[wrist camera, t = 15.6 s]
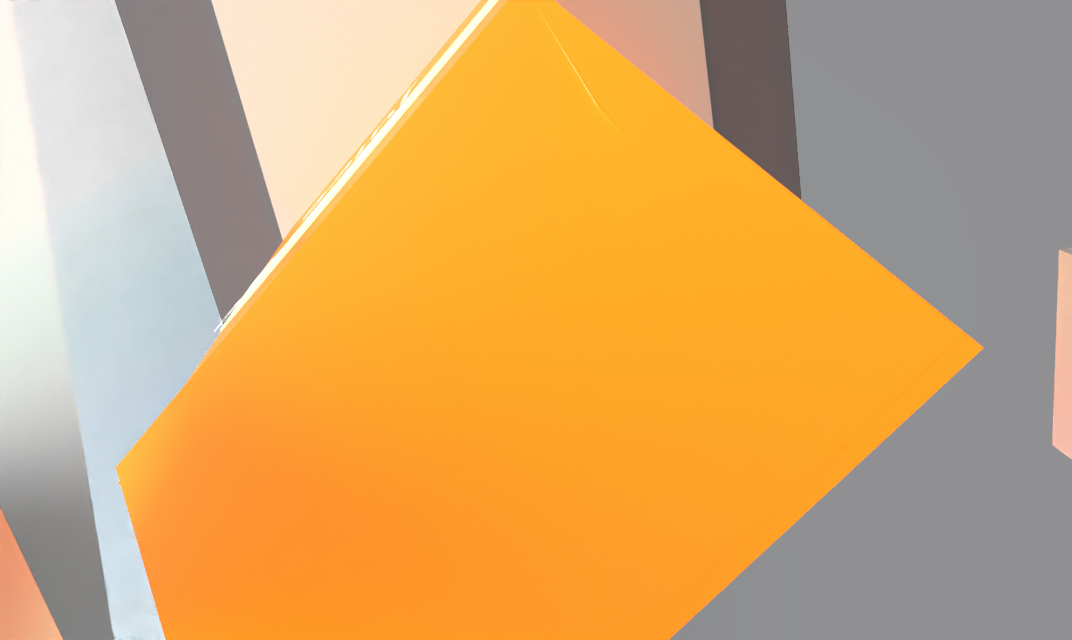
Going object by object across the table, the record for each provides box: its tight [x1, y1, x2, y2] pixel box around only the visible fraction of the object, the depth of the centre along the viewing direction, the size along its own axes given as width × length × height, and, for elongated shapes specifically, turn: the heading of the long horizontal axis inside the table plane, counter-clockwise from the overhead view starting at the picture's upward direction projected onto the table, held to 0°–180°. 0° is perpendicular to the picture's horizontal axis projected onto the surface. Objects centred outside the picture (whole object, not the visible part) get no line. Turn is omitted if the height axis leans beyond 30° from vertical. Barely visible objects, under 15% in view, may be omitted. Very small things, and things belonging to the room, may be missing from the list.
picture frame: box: [115, 0, 801, 325], centre depth 26 cm, size 24×18×1 cm
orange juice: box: [116, 0, 983, 640], centre depth 17 cm, size 8×9×20 cm
